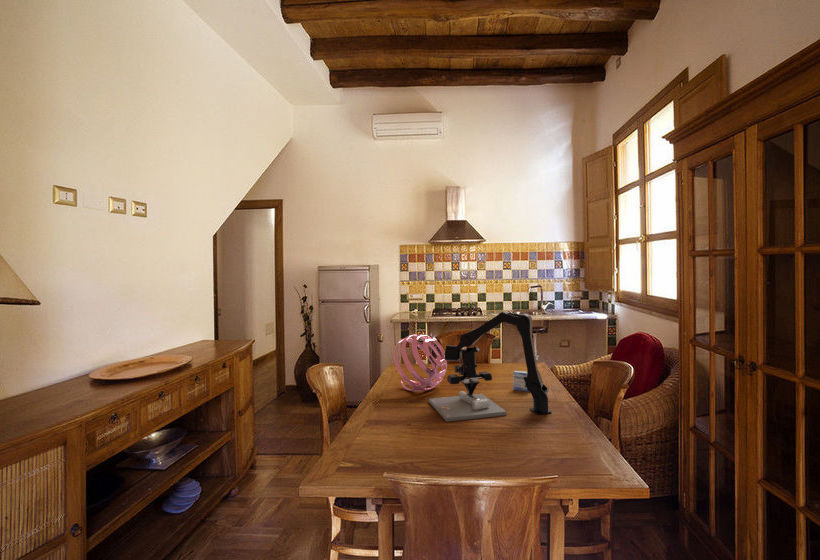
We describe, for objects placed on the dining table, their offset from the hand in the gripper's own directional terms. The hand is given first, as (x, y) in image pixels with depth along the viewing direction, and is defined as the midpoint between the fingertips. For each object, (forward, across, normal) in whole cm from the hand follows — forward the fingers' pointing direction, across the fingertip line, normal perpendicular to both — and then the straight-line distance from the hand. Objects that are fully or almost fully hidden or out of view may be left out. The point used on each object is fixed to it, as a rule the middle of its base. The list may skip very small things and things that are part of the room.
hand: (470, 397), depth 184 cm
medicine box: (+3, -31, -12) cm, 34 cm away
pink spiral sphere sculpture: (+2, +15, -27) cm, 31 cm away
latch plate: (+3, +4, +5) cm, 7 cm away
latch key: (+1, +1, +5) cm, 5 cm away
